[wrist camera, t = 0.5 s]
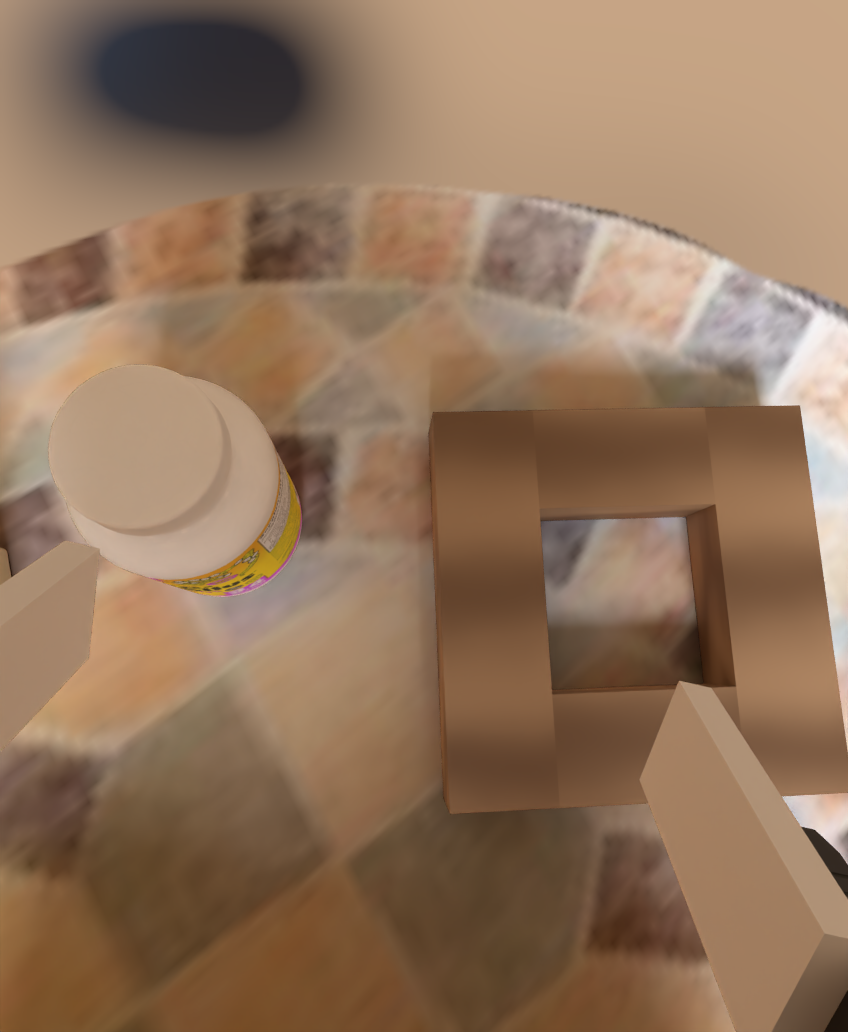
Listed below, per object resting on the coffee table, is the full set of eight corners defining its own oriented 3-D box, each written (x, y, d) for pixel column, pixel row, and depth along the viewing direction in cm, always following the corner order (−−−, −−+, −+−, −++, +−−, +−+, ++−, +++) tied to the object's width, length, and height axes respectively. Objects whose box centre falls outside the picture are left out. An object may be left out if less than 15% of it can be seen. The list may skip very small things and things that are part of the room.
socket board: (809, 779, 32) (853, 792, 29) (443, 798, 31) (449, 813, 28) (764, 426, 35) (799, 405, 32) (428, 433, 34) (433, 412, 31)
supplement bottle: (133, 579, 32) (-31, 532, 19) (177, 437, 33) (50, 303, 20) (284, 614, 32) (219, 590, 19) (321, 470, 33) (284, 359, 20)
